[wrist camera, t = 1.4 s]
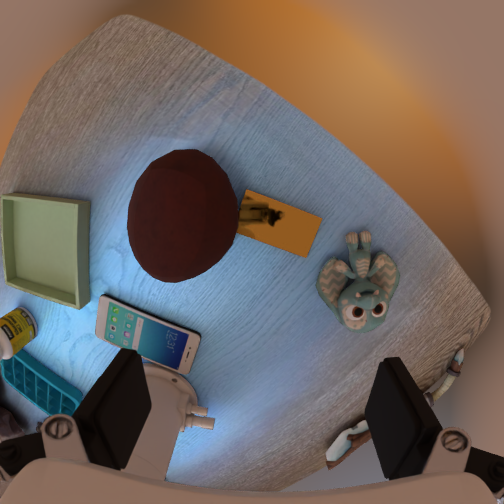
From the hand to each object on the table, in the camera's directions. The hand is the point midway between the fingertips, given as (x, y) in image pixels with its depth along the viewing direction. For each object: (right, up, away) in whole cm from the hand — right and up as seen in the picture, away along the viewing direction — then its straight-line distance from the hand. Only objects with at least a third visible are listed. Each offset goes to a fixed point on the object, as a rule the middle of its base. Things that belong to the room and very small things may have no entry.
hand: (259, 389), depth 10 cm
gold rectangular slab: (+3, +11, +22) cm, 25 cm away
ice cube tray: (-41, -20, +33) cm, 56 cm away
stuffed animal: (+12, +8, +21) cm, 26 cm away
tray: (-30, +6, +25) cm, 40 cm away
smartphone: (-15, -6, +28) cm, 32 cm away
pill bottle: (-39, -7, +29) cm, 50 cm away
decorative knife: (+36, -14, +26) cm, 47 cm away
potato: (-7, +10, +23) cm, 26 cm away
